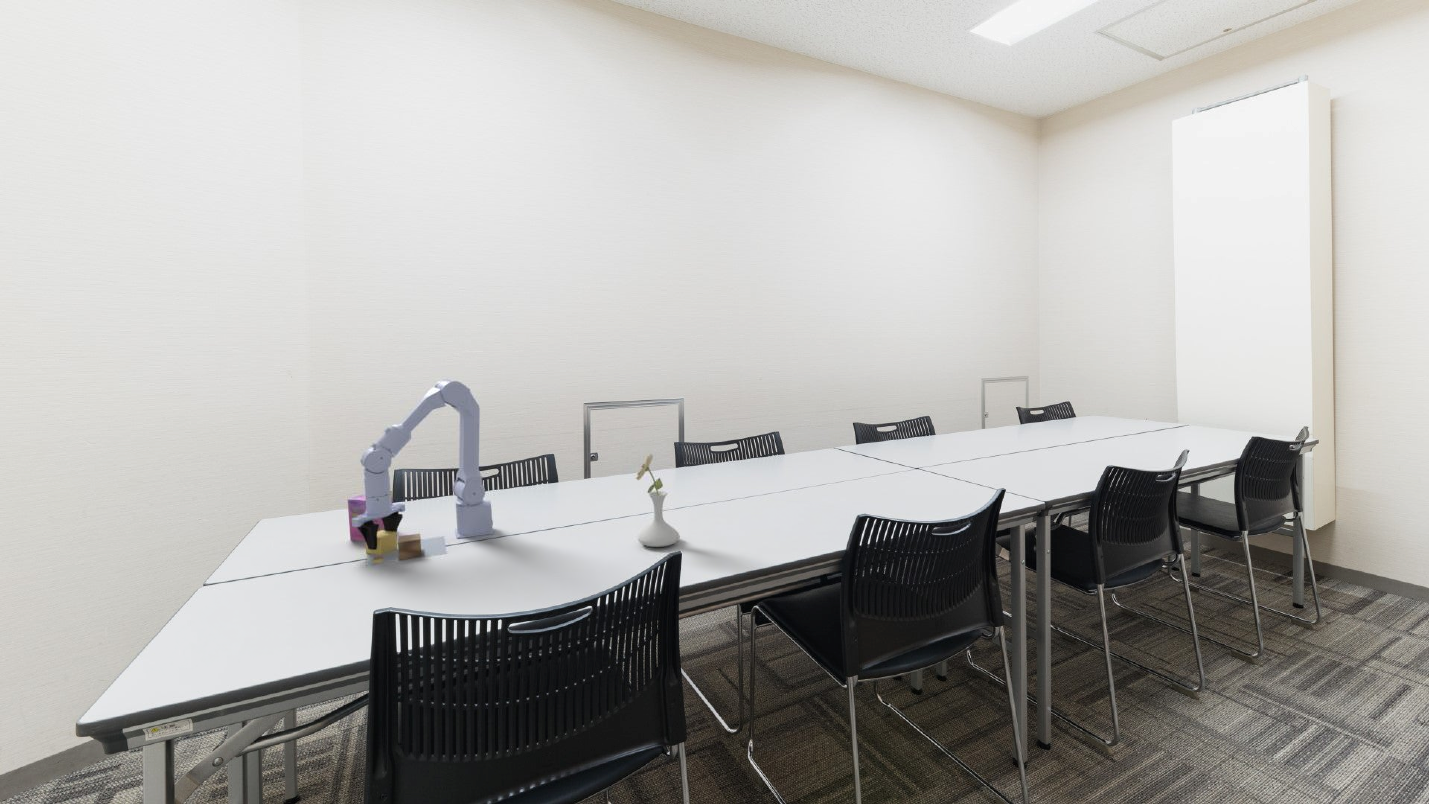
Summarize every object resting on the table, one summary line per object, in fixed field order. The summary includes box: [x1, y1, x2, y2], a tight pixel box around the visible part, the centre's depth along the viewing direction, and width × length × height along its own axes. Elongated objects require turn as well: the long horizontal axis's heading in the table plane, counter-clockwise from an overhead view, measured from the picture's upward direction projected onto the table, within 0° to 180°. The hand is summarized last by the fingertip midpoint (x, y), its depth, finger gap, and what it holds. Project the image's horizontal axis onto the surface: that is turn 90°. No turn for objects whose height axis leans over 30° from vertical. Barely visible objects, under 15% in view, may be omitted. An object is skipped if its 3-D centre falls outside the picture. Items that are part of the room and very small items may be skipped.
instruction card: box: [365, 535, 447, 567], centre depth 155 cm, size 18×15×1 cm
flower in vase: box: [635, 453, 681, 548], centre depth 158 cm, size 13×11×25 cm
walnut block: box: [397, 533, 422, 560], centre depth 151 cm, size 5×5×4 cm
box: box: [347, 490, 394, 542], centre depth 167 cm, size 10×6×12 cm, turn 168°
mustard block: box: [365, 530, 398, 555], centre depth 154 cm, size 5×5×4 cm
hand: (381, 545), depth 154 cm, fingers closed on mustard block, 5 cm apart
